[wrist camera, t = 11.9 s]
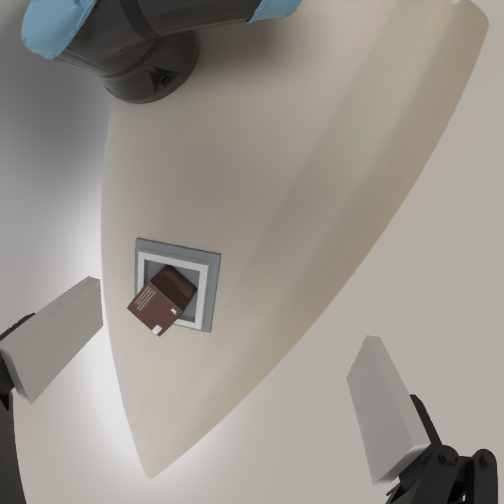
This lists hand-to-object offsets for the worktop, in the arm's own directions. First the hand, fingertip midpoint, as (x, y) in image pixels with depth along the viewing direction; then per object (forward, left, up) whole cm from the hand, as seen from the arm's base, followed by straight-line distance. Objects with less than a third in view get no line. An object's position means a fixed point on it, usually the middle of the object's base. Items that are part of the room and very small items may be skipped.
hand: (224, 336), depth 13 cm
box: (+12, -11, -26) cm, 31 cm away
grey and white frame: (+12, -11, -27) cm, 31 cm away
